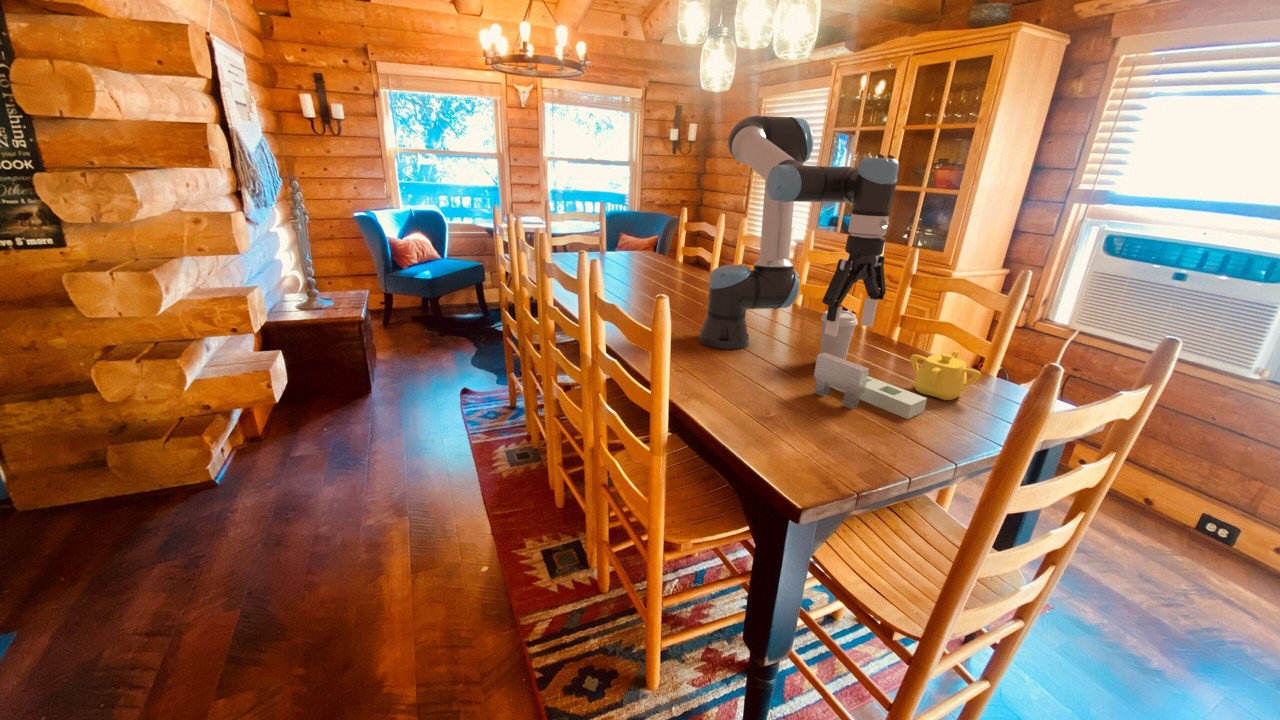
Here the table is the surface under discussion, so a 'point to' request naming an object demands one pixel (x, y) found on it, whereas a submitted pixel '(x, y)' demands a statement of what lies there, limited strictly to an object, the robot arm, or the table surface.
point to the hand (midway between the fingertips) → (849, 330)
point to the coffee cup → (838, 335)
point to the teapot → (942, 375)
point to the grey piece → (840, 378)
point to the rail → (891, 398)
